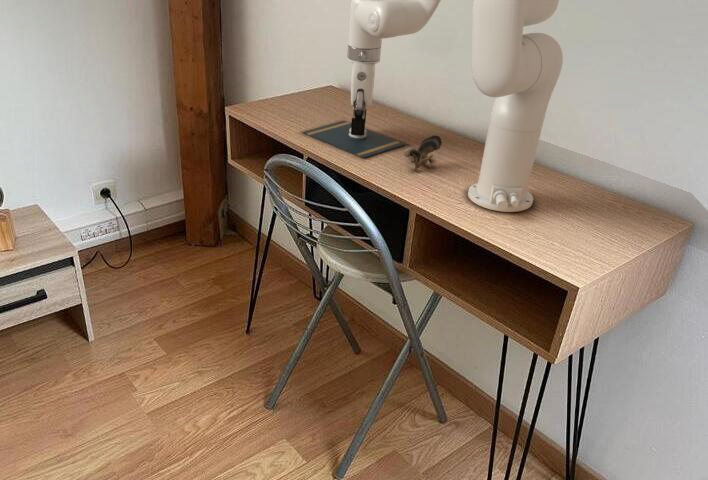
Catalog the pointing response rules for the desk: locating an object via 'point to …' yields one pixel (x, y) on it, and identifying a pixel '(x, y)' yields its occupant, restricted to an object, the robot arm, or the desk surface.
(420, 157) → the brown toy squirrel
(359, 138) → the rook chess piece
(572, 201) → the desk surface
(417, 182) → the desk surface
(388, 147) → the placemat
